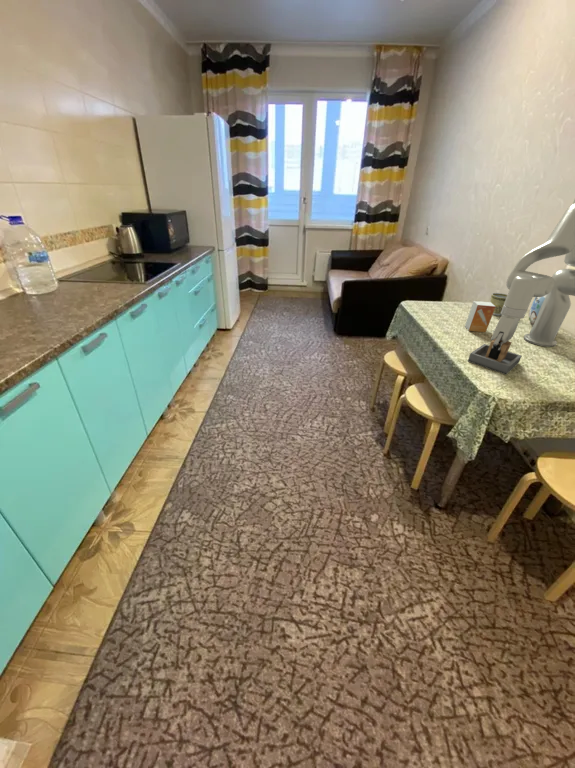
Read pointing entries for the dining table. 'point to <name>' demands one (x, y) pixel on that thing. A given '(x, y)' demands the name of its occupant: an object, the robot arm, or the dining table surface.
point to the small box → (479, 316)
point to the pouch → (536, 308)
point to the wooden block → (503, 349)
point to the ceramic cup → (498, 302)
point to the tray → (501, 367)
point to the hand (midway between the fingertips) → (495, 355)
